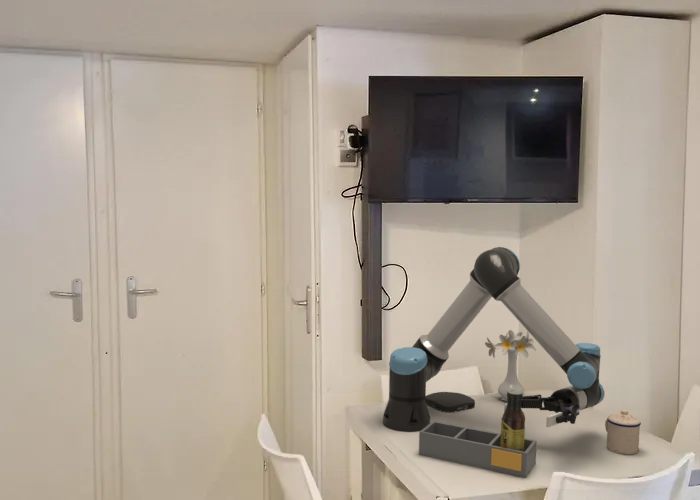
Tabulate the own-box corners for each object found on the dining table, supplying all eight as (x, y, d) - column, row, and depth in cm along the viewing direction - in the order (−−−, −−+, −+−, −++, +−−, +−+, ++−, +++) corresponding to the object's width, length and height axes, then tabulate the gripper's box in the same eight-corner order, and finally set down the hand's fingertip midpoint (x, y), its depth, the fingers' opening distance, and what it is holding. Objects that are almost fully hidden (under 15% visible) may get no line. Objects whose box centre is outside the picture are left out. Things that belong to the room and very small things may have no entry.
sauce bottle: (498, 457, 185) (501, 386, 184) (521, 458, 184) (524, 388, 183) (500, 466, 179) (503, 393, 177) (524, 468, 178) (527, 395, 176)
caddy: (418, 454, 188) (418, 432, 188) (432, 442, 198) (433, 421, 198) (525, 478, 174) (526, 453, 174) (535, 463, 184) (536, 440, 183)
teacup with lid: (646, 453, 193) (648, 414, 192) (619, 456, 190) (622, 416, 189) (618, 438, 204) (620, 401, 203) (592, 441, 201) (594, 403, 200)
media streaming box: (452, 397, 245) (452, 388, 244) (479, 408, 232) (479, 399, 232) (420, 402, 237) (420, 394, 237) (446, 414, 225) (446, 406, 224)
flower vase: (477, 397, 243) (480, 329, 241) (519, 392, 250) (522, 326, 248) (499, 408, 231) (501, 337, 229) (542, 403, 238) (545, 333, 236)
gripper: (607, 424, 189) (566, 441, 175) (531, 402, 207) (488, 416, 193) (608, 398, 188) (567, 413, 174) (532, 379, 207) (489, 391, 193)
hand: (525, 415), depth 184 cm, fingers open, 13 cm apart
